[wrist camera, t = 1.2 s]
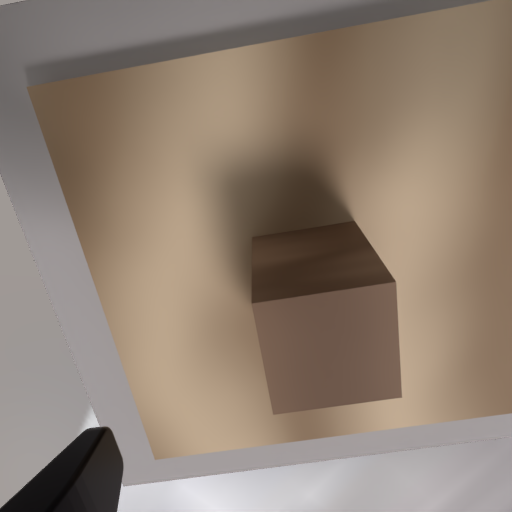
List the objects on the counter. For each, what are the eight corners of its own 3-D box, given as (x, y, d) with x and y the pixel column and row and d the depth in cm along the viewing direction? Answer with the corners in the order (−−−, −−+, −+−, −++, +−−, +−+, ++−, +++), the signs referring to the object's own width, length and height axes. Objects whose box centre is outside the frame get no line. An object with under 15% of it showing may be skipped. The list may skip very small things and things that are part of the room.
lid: (528, -5, 11) (707, -55, 7) (503, 397, 16) (598, 519, 12) (40, 85, 12) (-86, 94, 8) (159, 442, 17) (125, 574, 13)
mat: (602, -108, 11) (621, -118, 10) (545, 419, 17) (554, 431, 17) (-47, 20, 12) (-62, 18, 11) (127, 474, 18) (123, 486, 18)
